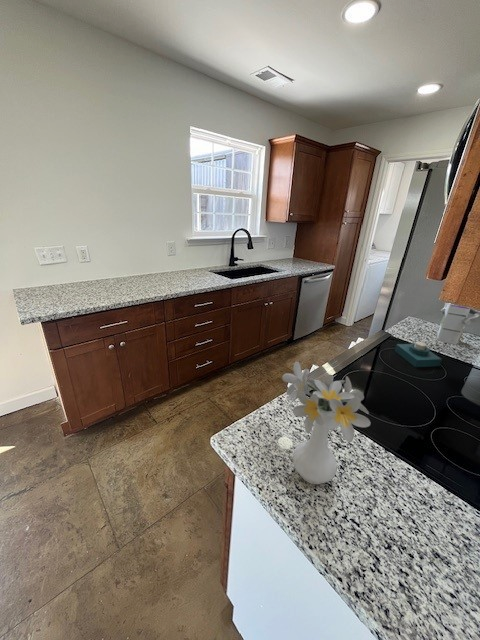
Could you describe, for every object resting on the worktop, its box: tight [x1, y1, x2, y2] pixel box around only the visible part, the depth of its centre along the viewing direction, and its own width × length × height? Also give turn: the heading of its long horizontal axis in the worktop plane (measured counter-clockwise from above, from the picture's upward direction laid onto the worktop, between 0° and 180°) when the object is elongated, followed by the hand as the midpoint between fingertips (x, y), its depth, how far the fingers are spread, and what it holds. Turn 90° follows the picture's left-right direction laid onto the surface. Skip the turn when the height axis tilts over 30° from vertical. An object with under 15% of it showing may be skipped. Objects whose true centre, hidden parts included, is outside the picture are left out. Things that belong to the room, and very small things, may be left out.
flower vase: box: [281, 361, 371, 485], centre depth 54 cm, size 13×18×25 cm
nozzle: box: [414, 341, 427, 350], centre depth 103 cm, size 4×4×2 cm
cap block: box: [394, 342, 443, 368], centre depth 104 cm, size 12×10×5 cm
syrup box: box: [436, 303, 470, 346], centre depth 91 cm, size 6×6×14 cm
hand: (452, 318), depth 91 cm, fingers closed on syrup box, 7 cm apart
